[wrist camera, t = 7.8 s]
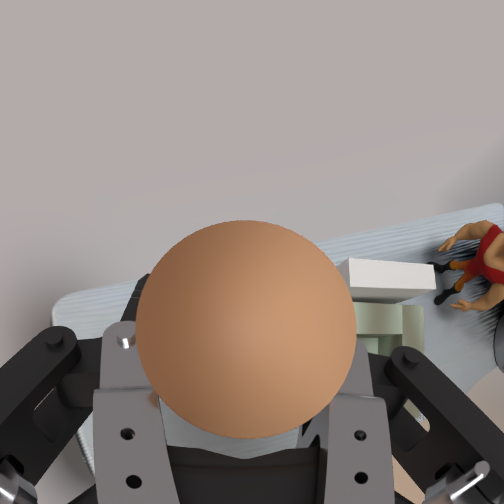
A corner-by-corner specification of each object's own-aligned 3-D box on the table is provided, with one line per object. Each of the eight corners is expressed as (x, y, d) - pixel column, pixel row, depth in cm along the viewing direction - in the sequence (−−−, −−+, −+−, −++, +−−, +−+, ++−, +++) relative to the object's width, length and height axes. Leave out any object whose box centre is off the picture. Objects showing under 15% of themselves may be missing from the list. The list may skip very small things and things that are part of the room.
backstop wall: (378, 289, 29) (433, 264, 21) (379, 308, 29) (436, 289, 20) (307, 286, 28) (348, 258, 20) (307, 307, 28) (350, 286, 19)
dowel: (264, 305, 15) (348, 227, 6) (264, 383, 14) (356, 427, 5) (185, 303, 15) (147, 215, 5) (183, 381, 14) (135, 432, 4)
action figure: (418, 246, 32) (508, 187, 18) (437, 244, 33) (523, 190, 18) (434, 324, 29) (539, 294, 15) (453, 318, 30) (552, 287, 16)
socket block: (388, 315, 29) (423, 305, 23) (384, 409, 25) (419, 416, 20) (299, 310, 28) (322, 299, 22) (292, 415, 24) (314, 430, 19)
